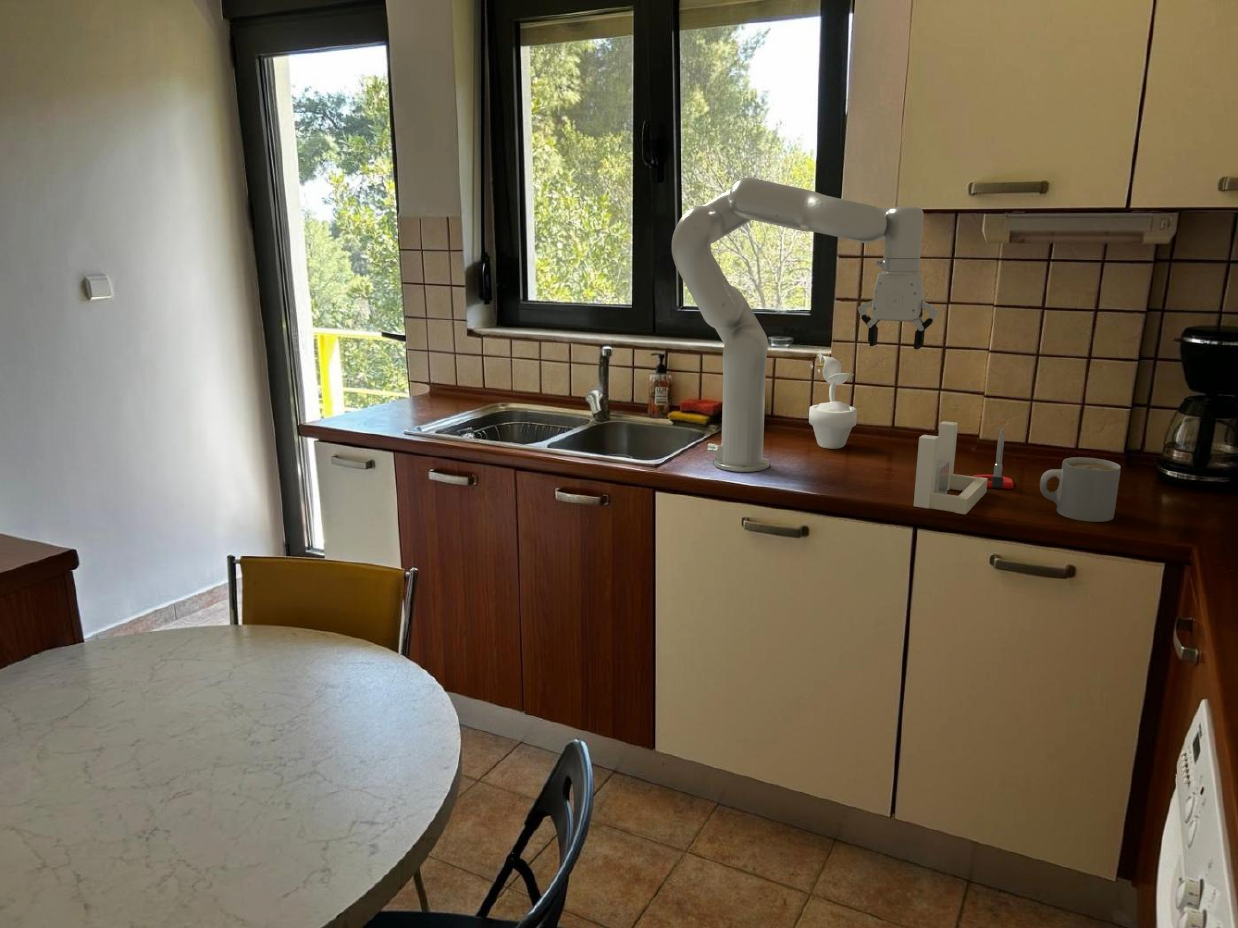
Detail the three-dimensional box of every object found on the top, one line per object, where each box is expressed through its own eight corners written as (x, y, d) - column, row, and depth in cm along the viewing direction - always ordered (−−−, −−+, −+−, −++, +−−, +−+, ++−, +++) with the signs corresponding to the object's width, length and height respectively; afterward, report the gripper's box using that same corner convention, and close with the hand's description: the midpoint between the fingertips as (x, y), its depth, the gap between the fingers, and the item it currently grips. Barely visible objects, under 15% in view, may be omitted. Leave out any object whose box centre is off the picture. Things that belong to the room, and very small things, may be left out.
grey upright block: (917, 499, 187) (920, 466, 185) (927, 491, 193) (930, 458, 191) (937, 502, 185) (940, 468, 183) (946, 493, 191) (949, 461, 189)
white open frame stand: (913, 506, 182) (919, 437, 179) (937, 484, 197) (943, 421, 193) (965, 514, 177) (972, 444, 174) (986, 492, 192) (993, 426, 188)
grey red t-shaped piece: (966, 478, 204) (976, 488, 195) (972, 421, 201) (982, 428, 192) (1006, 480, 202) (1017, 490, 193) (1012, 422, 200) (1024, 429, 191)
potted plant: (799, 442, 235) (804, 345, 229) (841, 439, 238) (847, 343, 231) (821, 454, 223) (827, 351, 217) (865, 451, 226) (871, 350, 220)
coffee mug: (1115, 510, 179) (1122, 461, 177) (1112, 524, 171) (1119, 473, 168) (1040, 500, 186) (1046, 452, 183) (1034, 513, 178) (1040, 463, 175)
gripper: (855, 266, 197) (850, 346, 201) (937, 268, 188) (930, 352, 192) (866, 265, 203) (861, 342, 207) (947, 267, 194) (940, 348, 198)
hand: (894, 347), depth 200 cm, fingers open, 9 cm apart
